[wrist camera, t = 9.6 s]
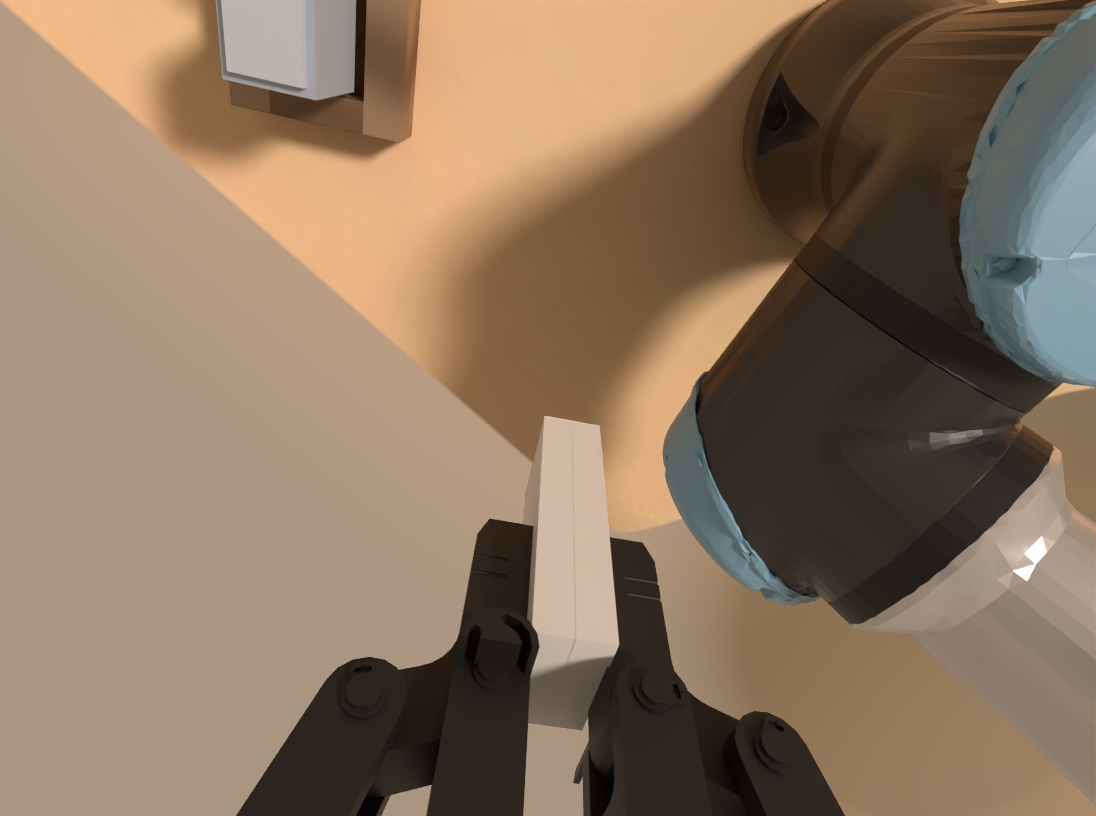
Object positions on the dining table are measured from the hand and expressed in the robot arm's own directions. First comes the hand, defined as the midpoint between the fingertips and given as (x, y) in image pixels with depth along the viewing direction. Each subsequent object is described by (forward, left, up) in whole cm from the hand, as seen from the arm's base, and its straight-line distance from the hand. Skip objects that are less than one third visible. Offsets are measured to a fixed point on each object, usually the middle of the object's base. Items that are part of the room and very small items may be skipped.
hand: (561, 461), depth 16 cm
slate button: (+4, -17, -25) cm, 31 cm away
